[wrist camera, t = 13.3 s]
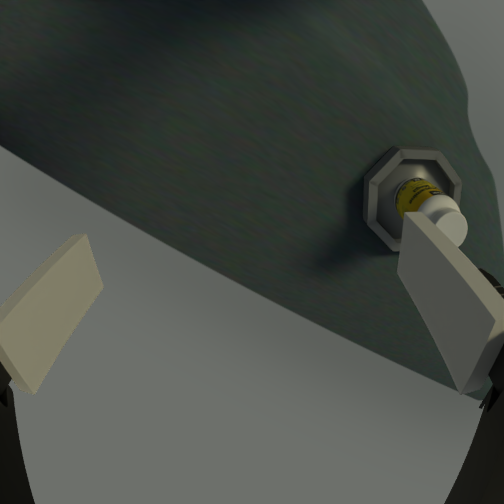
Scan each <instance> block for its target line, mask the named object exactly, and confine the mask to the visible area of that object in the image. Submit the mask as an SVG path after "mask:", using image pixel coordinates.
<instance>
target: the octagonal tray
mask: <svg viewBox="0 0 504 504" xmlns="http://www.w3.org/2000/svg"><path fill="white" fill-rule="evenodd" d="M412 177H420V178H423V179H425V180H427V181H428V182H430V183H431V184H433V185H434V186H435V187H437V188H438V189H440V190H441V191H442V192H444V193H445V194H446V195H448V196H449V197H451V198H452V199H453V200H454V201H455V202H456V204H457V205H458V207H459V204H460V196H461V188H462V181H461V180H460V178H459V177H458V175H457V174H456V172H455V171H454V169H453V168H452V167H451V165H450V164H449V162H448V161H447V160H446V158H445V157H444V156H443V154H442V153H441V152H440V151H439V150H437V149H435V148H432V147H415V146H393V147H392V148H391V149H390V150H389V151H388V152H387V153H386V154H385V155H384V156H383V157H382V158H381V159H380V160H379V161H378V162H377V163H376V164H375V166H374V167H373V168H372V169H371V170H370V171H369V172H368V173H367V174H366V175H365V176H364V195H363V219H364V221H365V222H366V224H367V225H368V226H369V227H370V228H371V229H372V230H373V231H374V232H375V233H376V234H377V235H378V236H379V237H380V238H381V239H382V240H383V241H384V243H385V244H386V245H387V246H388V247H389V248H390V249H391V250H392V251H400V247H401V239H402V230H403V221H404V220H403V219H402V218H401V217H400V215H399V214H398V213H397V211H396V209H395V205H394V196H395V193H396V190H397V188H398V187H399V185H400V184H401V183H402V182H403V181H405V180H406V179H409V178H412Z"/></svg>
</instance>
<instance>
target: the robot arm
mask: <svg viewBox="0 0 504 504" xmlns="http://www.w3.org/2000/svg"><path fill="white" fill-rule="evenodd" d="M397 274H398V276H399V277H400V279H401V281H402V282H403V284H404V286H405V288H406V289H407V291H408V293H409V295H410V296H411V298H412V300H413V302H414V303H415V305H416V307H417V309H418V311H419V313H420V314H421V316H422V318H423V320H424V322H425V324H426V326H427V327H428V329H429V331H430V333H431V335H432V337H433V339H434V341H435V343H436V345H437V347H438V349H439V351H440V353H441V355H442V357H443V359H444V361H445V363H446V365H447V367H448V369H449V372H450V374H451V376H452V378H453V380H454V382H455V385H456V387H457V389H458V391H459V394H460V395H462V394H465V393H469V392H472V391H476V390H479V389H481V387H482V386H483V384H484V382H485V380H486V378H487V377H488V375H489V377H490V379H491V381H492V383H493V385H492V387H491V388H490V390H489V392H488V393H487V395H486V397H485V398H484V400H483V401H482V403H481V405H480V406H479V408H481V409H482V407H483V406H484V404H485V406H484V409H483V412H482V415H481V418H480V421H479V424H478V427H477V430H476V433H475V436H474V438H473V441H472V444H471V446H470V449H469V451H468V454H467V456H466V459H465V461H464V463H463V466H462V468H461V471H460V472H459V475H458V477H457V479H456V481H455V483H454V485H453V487H452V489H451V491H450V493H449V495H448V497H447V499H446V501H445V503H444V504H504V288H503V287H501V285H500V284H499V282H498V281H497V280H496V279H495V278H494V277H493V276H492V275H490V274H489V273H487V272H486V271H484V270H483V269H481V268H480V269H477V268H476V267H475V266H474V264H473V263H472V262H471V261H470V260H469V259H468V258H467V257H466V256H465V255H464V254H463V253H462V252H461V251H460V249H459V248H458V247H457V246H456V245H455V244H454V243H453V242H452V241H451V240H450V239H449V238H448V237H447V236H446V235H445V234H444V233H443V232H442V231H441V230H440V229H439V228H438V227H437V226H436V225H435V224H434V223H433V222H432V221H430V220H429V219H428V218H427V217H426V216H425V215H424V214H423V213H422V212H404V221H403V230H402V239H401V247H400V255H399V262H398V269H397ZM103 287H104V286H103V283H102V281H101V278H100V275H99V272H98V269H97V266H96V263H95V260H94V257H93V254H92V251H91V248H90V245H89V241H88V238H87V235H86V234H78V235H72V236H71V237H70V238H69V239H68V240H67V241H66V242H65V243H64V244H63V245H61V246H60V247H59V248H58V249H57V250H56V251H55V252H54V253H53V254H52V255H51V256H50V257H49V258H48V259H47V260H45V261H44V262H43V263H42V264H41V265H40V266H39V267H38V268H37V269H36V270H35V271H34V272H33V273H32V274H31V275H30V276H29V277H28V278H27V279H26V280H25V281H24V282H23V283H22V284H21V285H20V286H19V287H18V288H17V290H16V291H15V292H14V293H13V294H12V295H11V296H10V297H9V298H8V299H7V300H6V301H5V302H4V303H3V304H2V306H1V307H0V504H35V502H34V499H33V496H32V492H31V489H30V485H29V481H28V477H27V473H26V469H25V465H24V460H23V456H22V450H21V446H20V440H19V434H18V428H17V421H16V414H15V407H14V397H13V391H12V389H11V388H10V386H9V385H8V384H9V382H10V381H11V379H12V380H13V381H14V383H15V384H16V385H17V387H18V388H19V389H20V390H21V391H23V392H27V393H31V394H35V393H36V391H37V389H38V388H39V386H40V384H41V382H42V381H43V379H44V378H45V376H46V374H47V373H48V371H49V369H50V368H51V366H52V364H53V363H54V361H55V359H56V358H57V356H58V355H59V353H60V351H61V350H62V348H63V347H64V345H65V343H66V342H67V341H68V339H69V337H70V336H71V334H72V333H73V331H74V330H75V328H76V327H77V325H78V324H79V322H80V321H81V319H82V318H83V316H84V315H85V313H86V312H87V310H88V309H89V307H90V306H91V305H92V303H93V301H94V300H95V299H96V297H97V296H98V295H99V293H100V292H101V290H102V289H103Z"/></svg>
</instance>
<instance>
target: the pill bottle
mask: <svg viewBox="0 0 504 504" xmlns="http://www.w3.org/2000/svg"><path fill="white" fill-rule="evenodd" d="M394 205H395V209H396V211H397V213H398V214H399V215H400V217H401V218H402V219H403V220H404V212H422V213H423V214H424V215H425V216H426V217H427V218H428V219H429V220H430V221H432V222H433V223H434V224H435V225H436V226H437V227H438V228H439V229H440V230H441V231H442V232H443V233H444V234H445V235H446V236H447V237H448V238H449V239H450V240H451V241H452V242H453V243H454V244H455V245H456V246H457V247H459V246H460V245H461V244H462V242H463V241H464V239H465V237H466V234H467V222H466V219H465V218H464V216H463V215H462V214H461V213H460V210H459V207H458V205H457V204H456V202H455V201H454V200H453V199H452V198H451V197H449V196H448V195H446V194H445V193H444V192H442V191H441V190H440V189H438V188H437V187H435V186H434V185H433V184H431V183H430V182H428V181H427V180H425V179H423V178H420V177H412V178H409V179H406V180H405V181H403V182H402V183H401V184H400V185H399V187H398V188H397V190H396V193H395V196H394Z"/></svg>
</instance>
